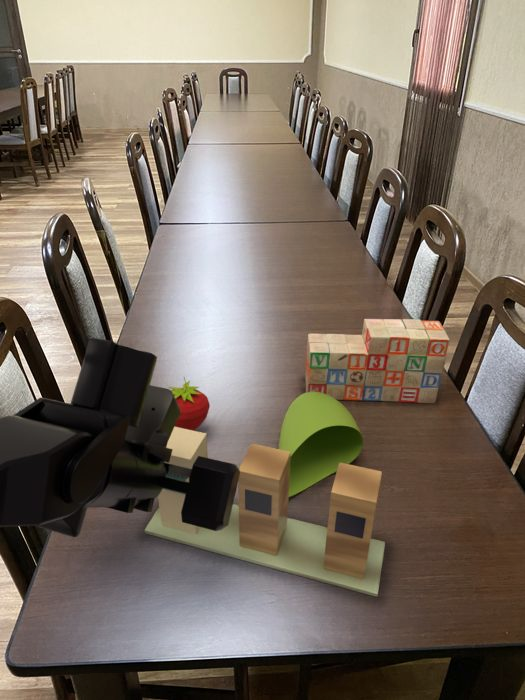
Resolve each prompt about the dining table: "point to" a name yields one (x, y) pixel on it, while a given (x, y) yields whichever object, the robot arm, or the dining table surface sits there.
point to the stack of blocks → (379, 361)
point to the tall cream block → (184, 455)
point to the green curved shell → (317, 439)
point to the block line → (296, 525)
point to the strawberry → (190, 406)
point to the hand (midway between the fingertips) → (172, 479)
